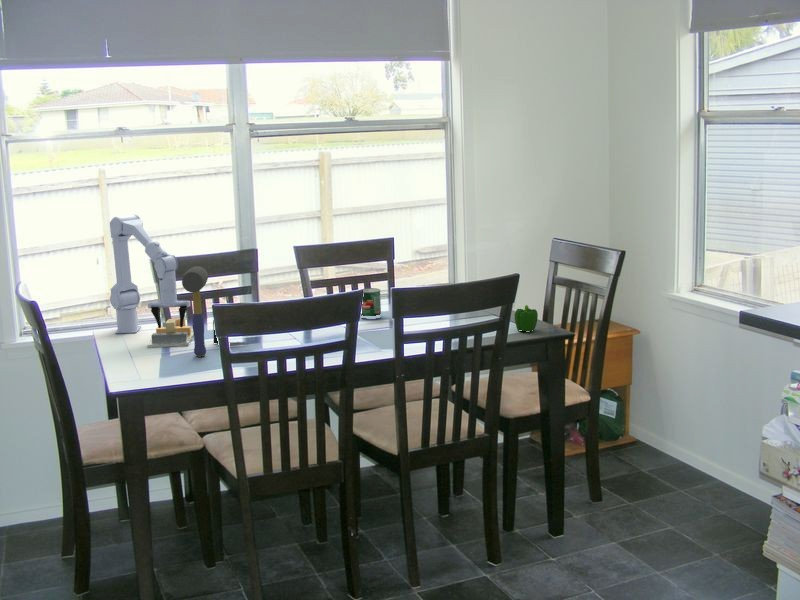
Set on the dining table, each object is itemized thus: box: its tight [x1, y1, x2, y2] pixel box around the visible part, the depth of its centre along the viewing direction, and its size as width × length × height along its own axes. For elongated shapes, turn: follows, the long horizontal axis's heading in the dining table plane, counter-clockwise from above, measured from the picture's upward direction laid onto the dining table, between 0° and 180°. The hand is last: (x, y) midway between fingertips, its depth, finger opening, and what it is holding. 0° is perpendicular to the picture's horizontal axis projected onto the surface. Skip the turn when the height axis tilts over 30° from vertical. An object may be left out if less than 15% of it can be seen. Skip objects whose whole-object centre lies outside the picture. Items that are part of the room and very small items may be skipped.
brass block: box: [164, 320, 176, 333], centre depth 332 cm, size 4×3×6 cm
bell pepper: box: [514, 304, 539, 332], centre depth 333 cm, size 8×8×10 cm
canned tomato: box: [360, 287, 382, 317], centre depth 361 cm, size 8×8×11 cm
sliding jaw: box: [155, 317, 192, 334], centre depth 341 cm, size 10×12×4 cm
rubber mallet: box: [181, 265, 209, 358], centre depth 307 cm, size 12×8×30 cm, turn 3°
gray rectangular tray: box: [147, 327, 194, 349], centre depth 335 cm, size 24×14×4 cm, turn 5°
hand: (170, 327), depth 332 cm, fingers open, 7 cm apart
